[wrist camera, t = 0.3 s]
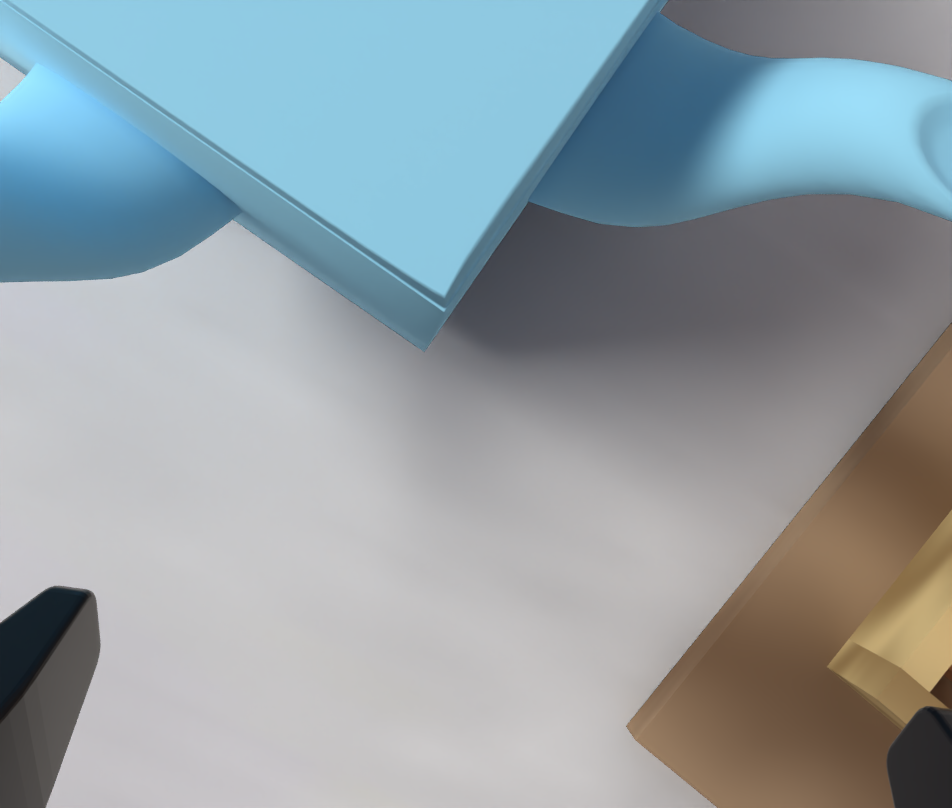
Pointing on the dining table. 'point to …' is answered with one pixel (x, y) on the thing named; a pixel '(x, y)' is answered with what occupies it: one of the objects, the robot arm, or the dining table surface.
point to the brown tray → (828, 628)
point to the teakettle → (418, 134)
